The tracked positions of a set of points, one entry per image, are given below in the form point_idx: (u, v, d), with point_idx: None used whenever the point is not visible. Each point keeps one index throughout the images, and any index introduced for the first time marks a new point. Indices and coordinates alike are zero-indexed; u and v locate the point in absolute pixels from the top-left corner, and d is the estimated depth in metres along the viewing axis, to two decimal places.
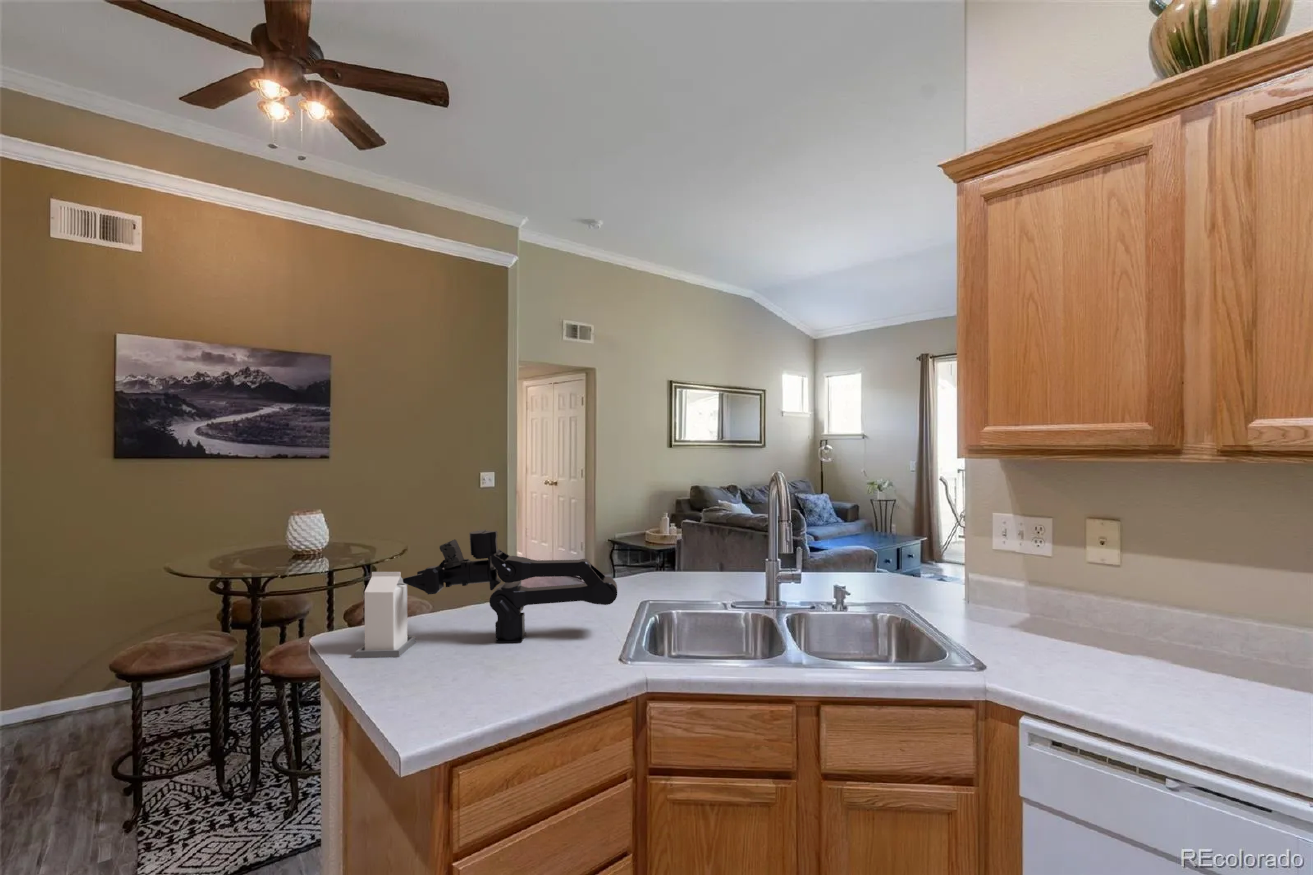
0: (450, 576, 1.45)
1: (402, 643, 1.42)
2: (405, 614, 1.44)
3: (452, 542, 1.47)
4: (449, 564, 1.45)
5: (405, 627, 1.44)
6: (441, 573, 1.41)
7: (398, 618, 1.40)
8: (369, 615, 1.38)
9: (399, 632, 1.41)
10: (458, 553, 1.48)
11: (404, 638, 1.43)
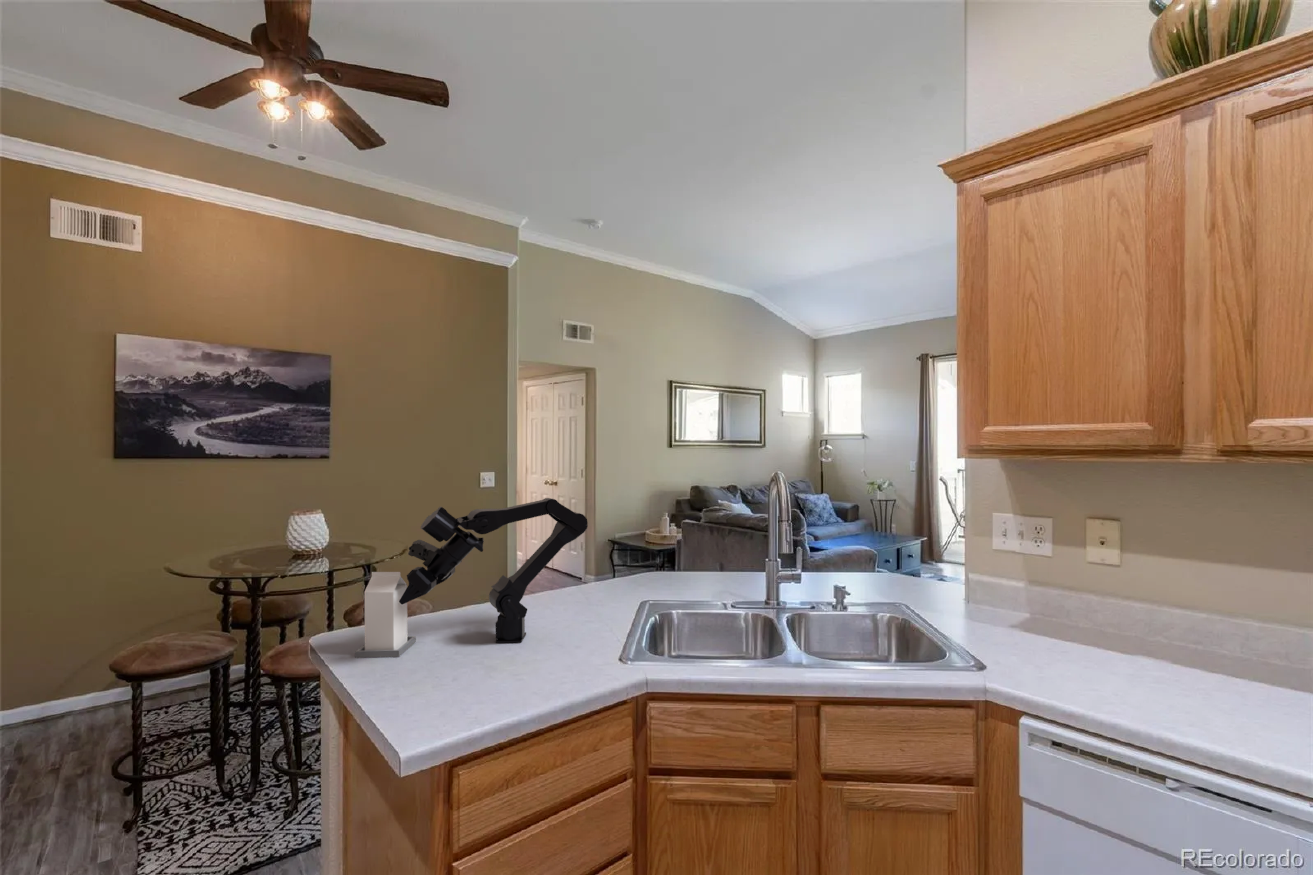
0: (436, 568, 1.39)
1: (402, 643, 1.42)
2: (405, 614, 1.44)
3: (416, 542, 1.41)
4: (427, 560, 1.39)
5: (405, 627, 1.44)
6: (424, 570, 1.35)
7: (398, 618, 1.40)
8: (369, 615, 1.38)
9: (399, 632, 1.41)
10: (429, 547, 1.42)
11: (404, 638, 1.43)
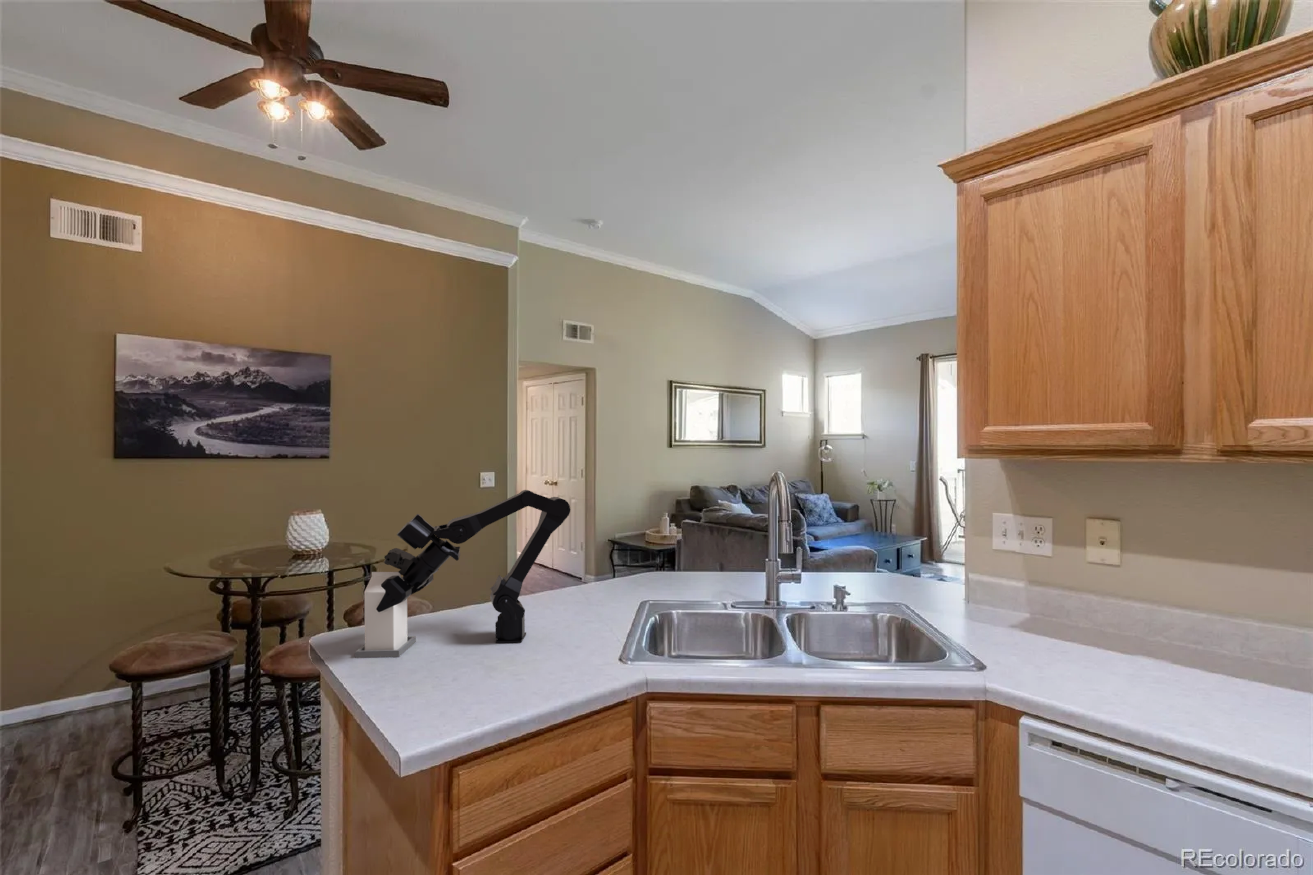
0: (412, 577, 1.39)
1: (402, 643, 1.42)
2: (405, 614, 1.44)
3: (392, 550, 1.41)
4: (403, 568, 1.39)
5: (405, 627, 1.44)
6: (398, 579, 1.35)
7: (398, 618, 1.40)
8: (369, 615, 1.38)
9: (399, 632, 1.41)
10: (405, 555, 1.42)
11: (404, 638, 1.43)
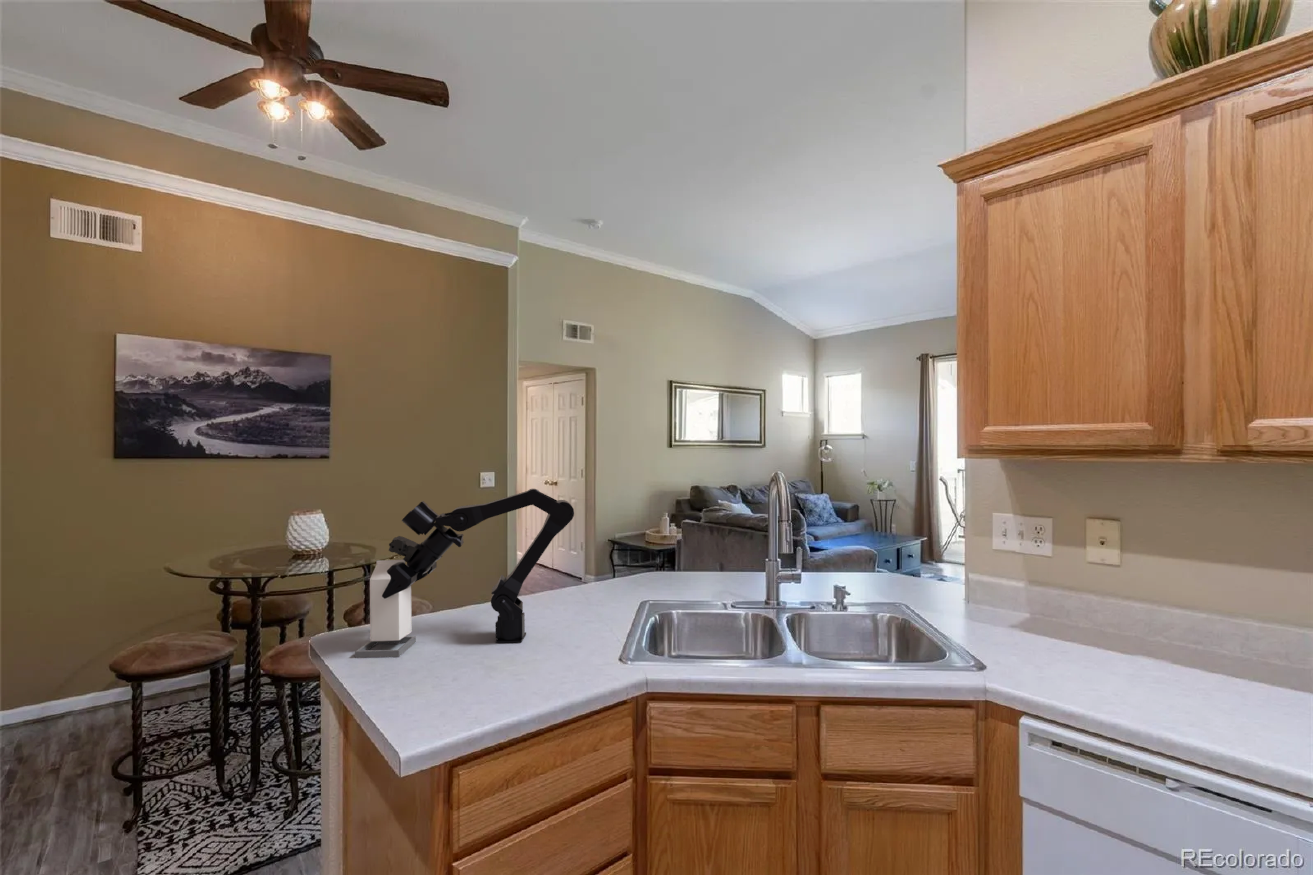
0: (416, 563, 1.42)
1: (407, 630, 1.44)
2: (409, 602, 1.46)
3: (396, 538, 1.43)
4: (407, 555, 1.41)
5: (409, 615, 1.46)
6: (404, 565, 1.38)
7: (403, 605, 1.43)
8: (374, 602, 1.40)
9: (404, 619, 1.43)
10: (409, 543, 1.44)
11: (409, 626, 1.45)
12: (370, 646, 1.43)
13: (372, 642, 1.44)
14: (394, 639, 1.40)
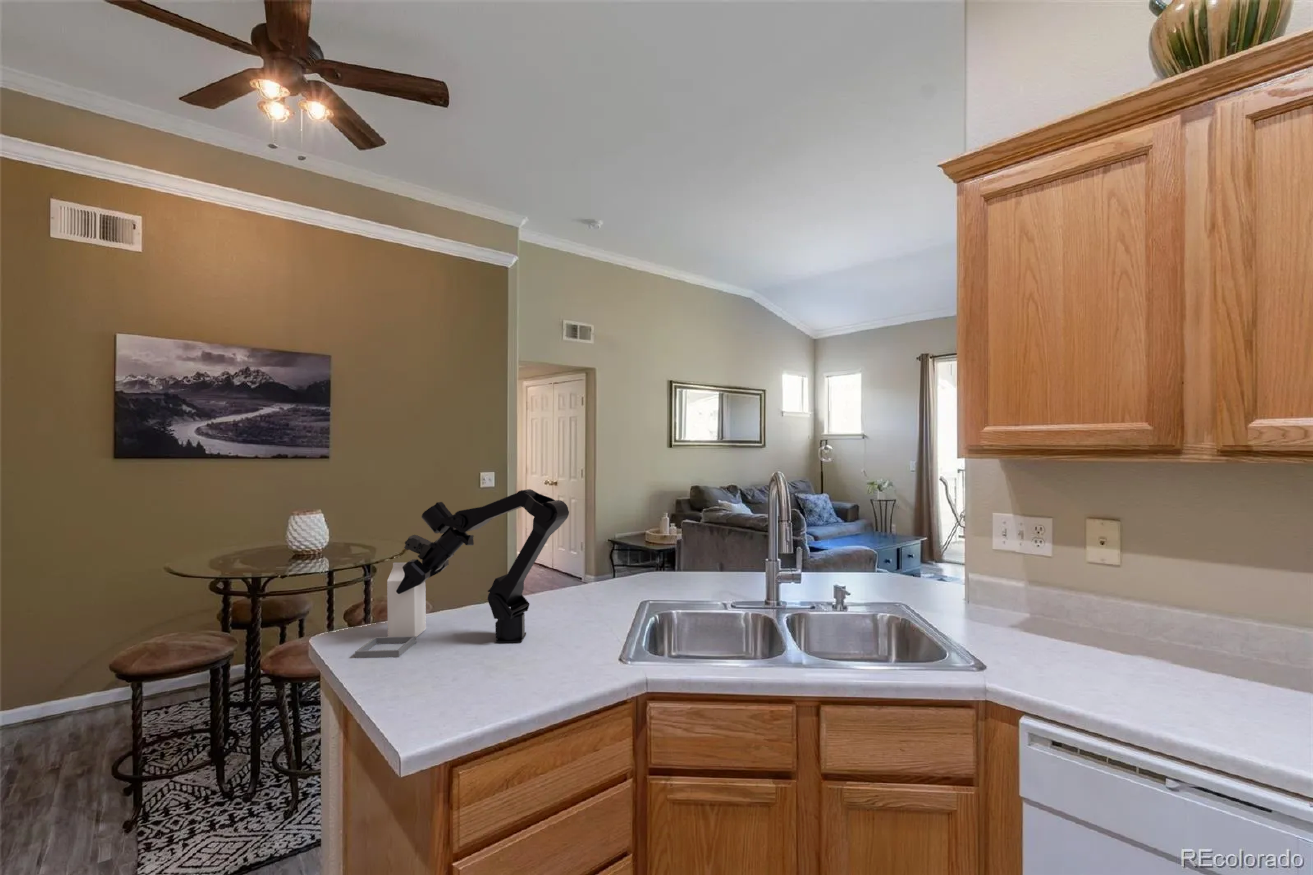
0: (430, 561, 1.51)
1: (421, 628, 1.54)
2: (424, 601, 1.55)
3: (411, 537, 1.53)
4: (422, 553, 1.51)
5: (424, 613, 1.55)
6: (418, 562, 1.47)
7: (418, 605, 1.52)
8: (391, 602, 1.49)
9: (419, 617, 1.52)
10: (423, 541, 1.53)
11: (423, 623, 1.55)
12: (370, 646, 1.43)
13: (372, 642, 1.44)
14: None
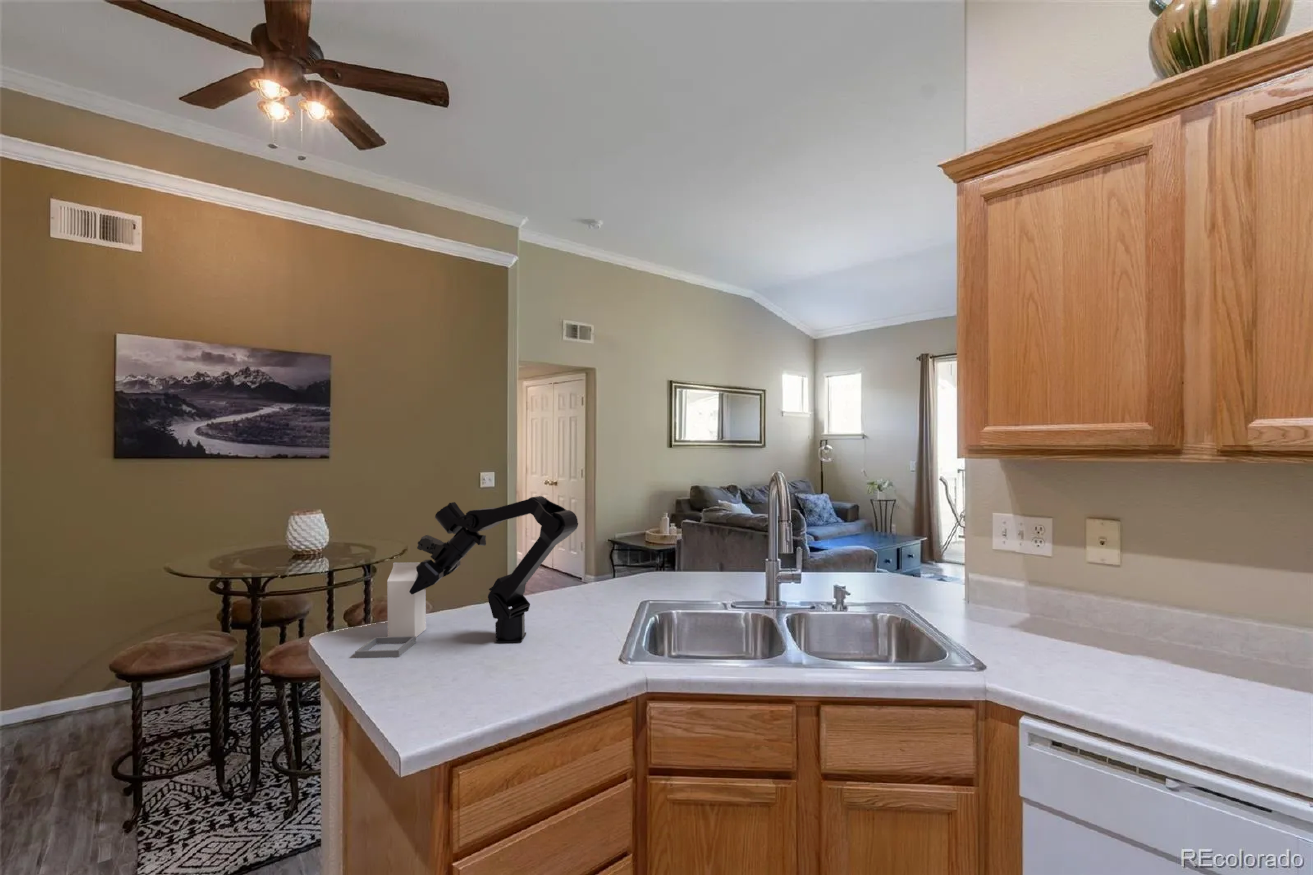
0: (443, 561, 1.51)
1: (421, 628, 1.54)
2: (424, 601, 1.55)
3: (424, 537, 1.53)
4: (435, 553, 1.51)
5: (424, 613, 1.55)
6: (431, 562, 1.47)
7: (418, 605, 1.52)
8: (391, 602, 1.49)
9: (419, 617, 1.52)
10: (436, 541, 1.54)
11: (423, 624, 1.55)
12: (370, 646, 1.43)
13: (372, 642, 1.44)
14: None
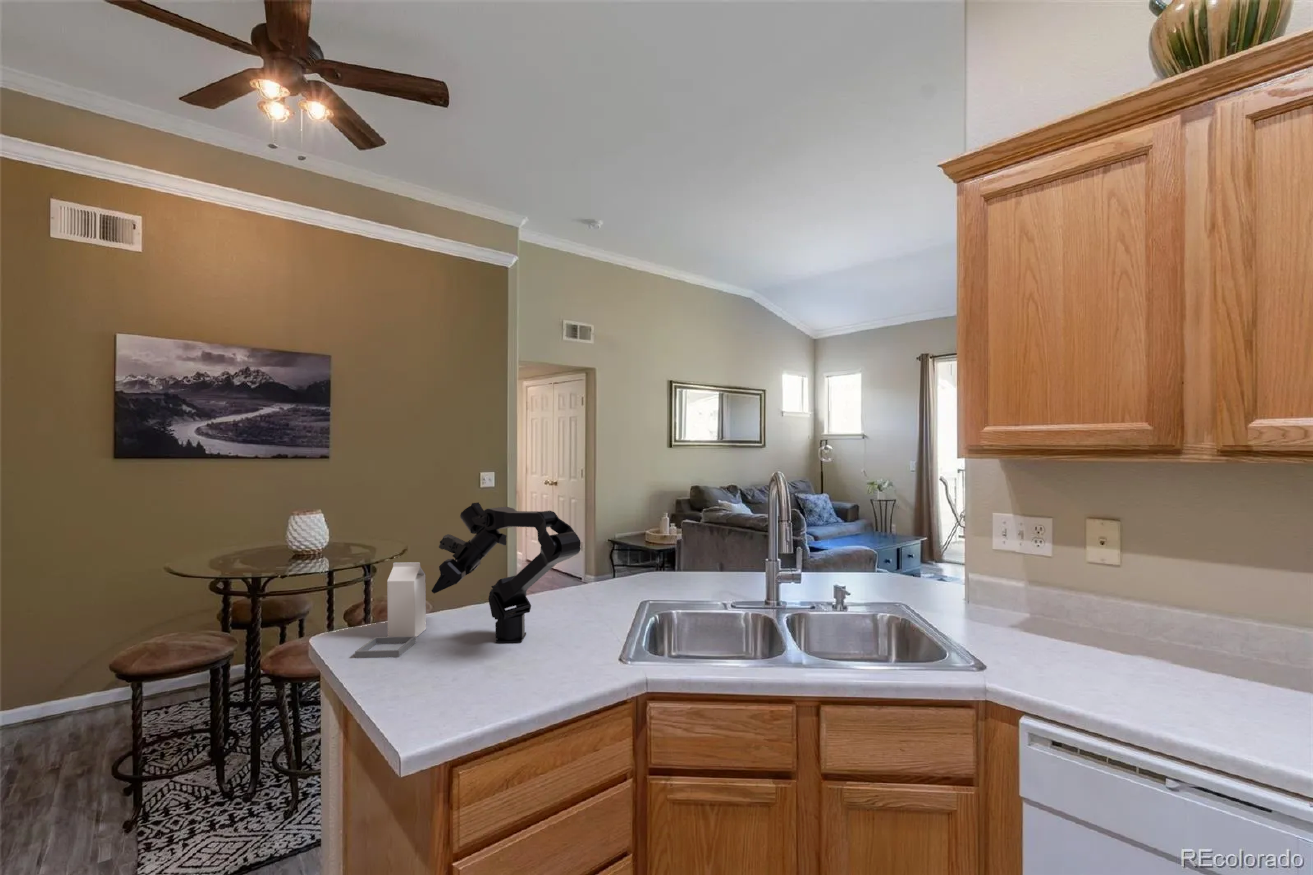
0: (465, 560, 1.51)
1: (421, 628, 1.54)
2: (424, 601, 1.55)
3: (446, 536, 1.53)
4: (456, 552, 1.51)
5: (424, 613, 1.55)
6: (454, 562, 1.47)
7: (418, 605, 1.52)
8: (391, 602, 1.49)
9: (419, 617, 1.52)
10: (458, 540, 1.54)
11: (423, 624, 1.55)
12: (370, 646, 1.43)
13: (372, 642, 1.44)
14: None
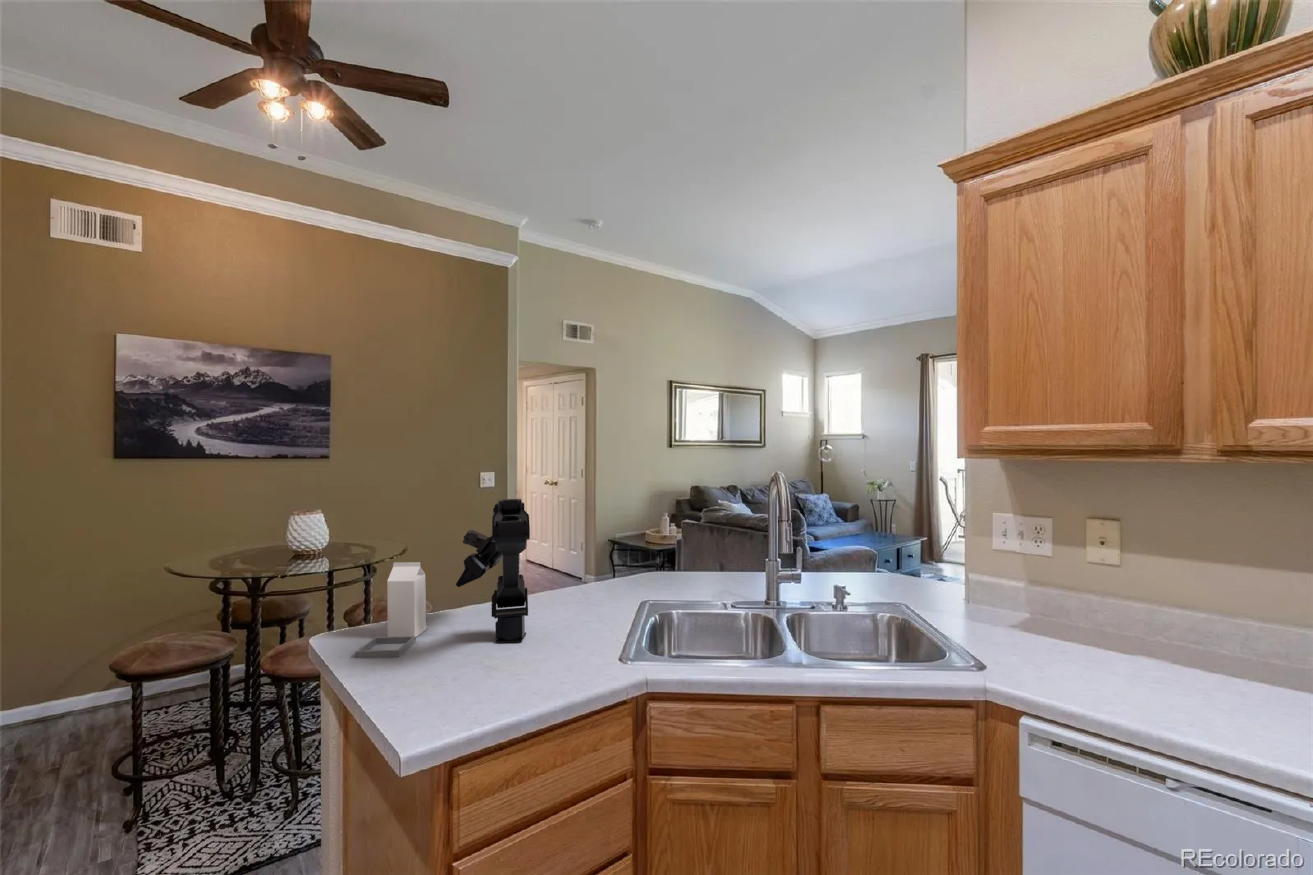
0: (488, 555, 1.55)
1: (421, 628, 1.54)
2: (424, 601, 1.55)
3: (469, 531, 1.57)
4: (480, 547, 1.55)
5: (424, 613, 1.55)
6: (478, 556, 1.52)
7: (418, 605, 1.52)
8: (391, 602, 1.49)
9: (419, 617, 1.52)
10: (481, 536, 1.58)
11: (423, 624, 1.55)
12: (370, 646, 1.43)
13: (372, 642, 1.44)
14: None
